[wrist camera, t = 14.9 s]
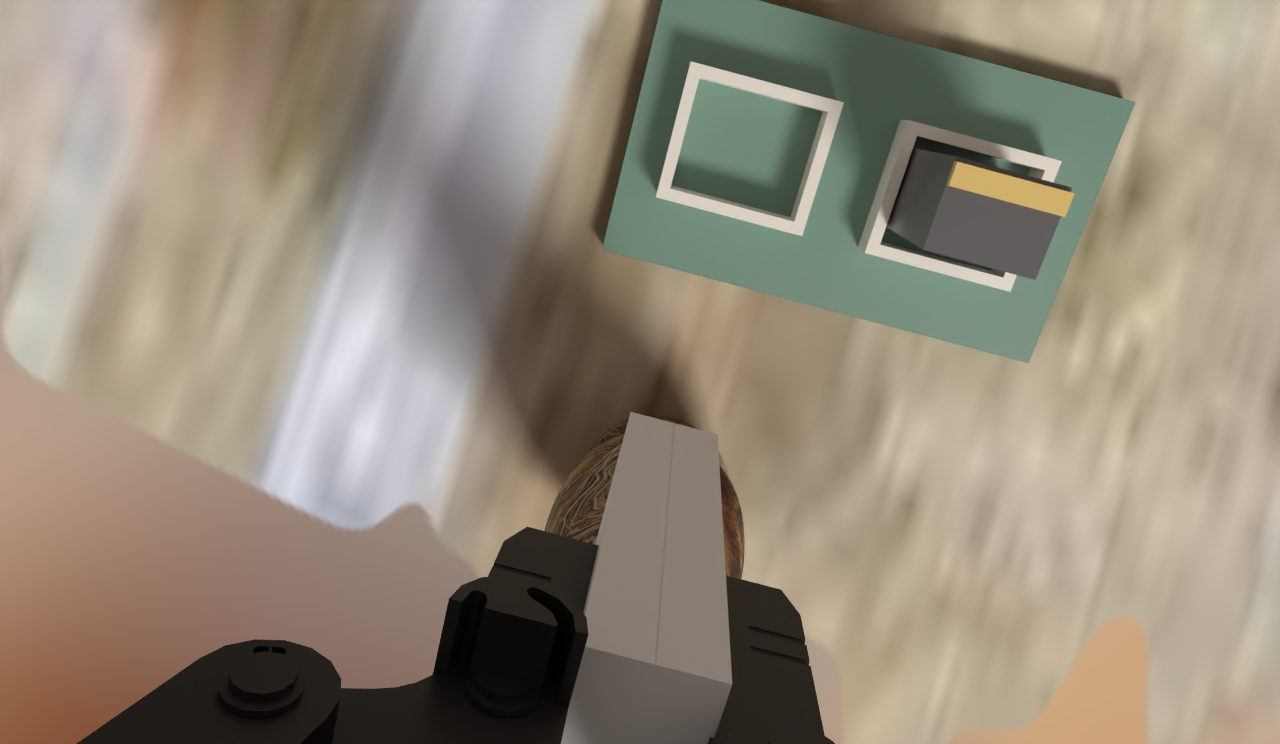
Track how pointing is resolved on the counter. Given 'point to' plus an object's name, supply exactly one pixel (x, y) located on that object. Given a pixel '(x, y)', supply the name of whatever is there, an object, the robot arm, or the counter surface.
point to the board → (844, 166)
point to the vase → (590, 488)
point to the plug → (978, 212)
